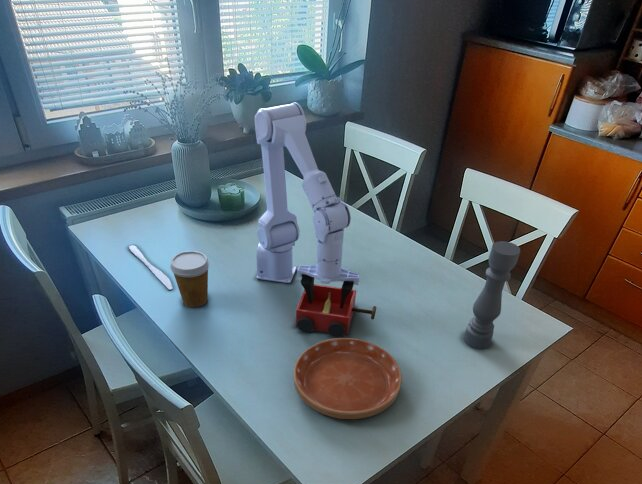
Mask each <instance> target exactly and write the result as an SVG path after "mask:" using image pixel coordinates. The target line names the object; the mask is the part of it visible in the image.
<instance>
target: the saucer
mask: <svg viewBox="0 0 642 484" xmlns="http://www.w3.org/2000/svg"><path fill="white" fill-rule="evenodd" d="M402 375H403V374H402V370H401V368H400V365H399V364H398V362H397V360H396V359H395V358H394V357H393V356H392V355H391V353H389V352H388V351H386V350H385V349H384V348H382V347H380V346H379V345H377V344H376V343H372V342H370V341H367V340H363V339H359V338H351V337H334V338H329V339H326V340H322V341H319V342H317V343H315V344H313V345H311V346H310V347H308V348H307V349H306V350H304V351H303V352H302V353H301V354H300V355H299V357H298V358H297V360H296V362H295V364H294V367H293V384H294V387H295V390H296V392H297V395H298V396H299V397H300V399H301V400H302V401H303V402H304V404H306V405H307V406H308V407H310V408H311V409H312V410H313V411H317V412H318V413H320V414H322V415H325V416H327V417H331V418H335V419H341V420H360V419H367V418H369V417H373V416H375V415H378V414H380V413H382V412H384V411H385V410H387V409H388V408H389V407H390V406H392V404H393V403H394V402H395V401H396V399H397V398H398V396H399V394H400V391H401V386H402V384H403V383H402V382H403V377H402Z"/></svg>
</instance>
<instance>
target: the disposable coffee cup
mask: <svg viewBox="0 0 642 484" xmlns="http://www.w3.org/2000/svg"><path fill="white" fill-rule="evenodd" d="M209 267H210V260H209V258H207V255H206V254H204V253H203V252H201V251H197V250H185V251H181V252H178V253H176V254H175V255H174V256H173V257H172V258H171V260H170V264H169V269H170V270H171V272H172V273H173V276H174V278H175V279H174V280H175V282H176V285H177V288H178V291H179V295H180V297H181V300H182V303H183V305H184V306H186V307H188V308H198V307H202V306H204V305H206V304H207V303H208V300H209V299H208V296H209V295H208V292H209V289H208V288H209Z"/></svg>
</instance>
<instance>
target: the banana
mask: <svg viewBox="0 0 642 484" xmlns="http://www.w3.org/2000/svg"><path fill="white" fill-rule="evenodd" d="M328 294H329V297H328V299H327V301H326V302H325V305H324V309H323V312H322V313H328V314H329V313H330V308H331V302H330V296H331V293H328Z"/></svg>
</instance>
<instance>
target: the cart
mask: <svg viewBox="0 0 642 484" xmlns="http://www.w3.org/2000/svg"><path fill="white" fill-rule="evenodd" d="M341 289H342V287H336V286H331V285H325V284H324V285H322V284H317V283H314V299H313V302H312V304H310V303H309V300H308V296H307V293H306V291H305V289H304V288H303V292H302V294H301V296H300V299H299V302H298V304H297V306H296V309H295V328H297V329H298V327H297V322H298V320H299V319H300V318H302V317H308V318H310V319H311V320H312V321H313V322H314V327H313V330H312V331H317V332H324V333H329V332H328V328H329V325H330V324H331V323H332V322H340V323H342V324H343V325H344V326H345V333H344V335H343V336H348V334H349V330H350V327H351V323H352V319H353V315H354V312H353V311H352V308H356V307H355V306H356V297H357V289H352V291H351V292H350V293H349V295H348V296H347V298H346V300H345V302H344V306H343V308H340V303H341ZM328 293H331V296H330V302H331V308H330V313H329V314H328V313H322V312H323V309H324V305H325V302H326V301H327V299H328V297H329V294H328Z"/></svg>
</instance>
